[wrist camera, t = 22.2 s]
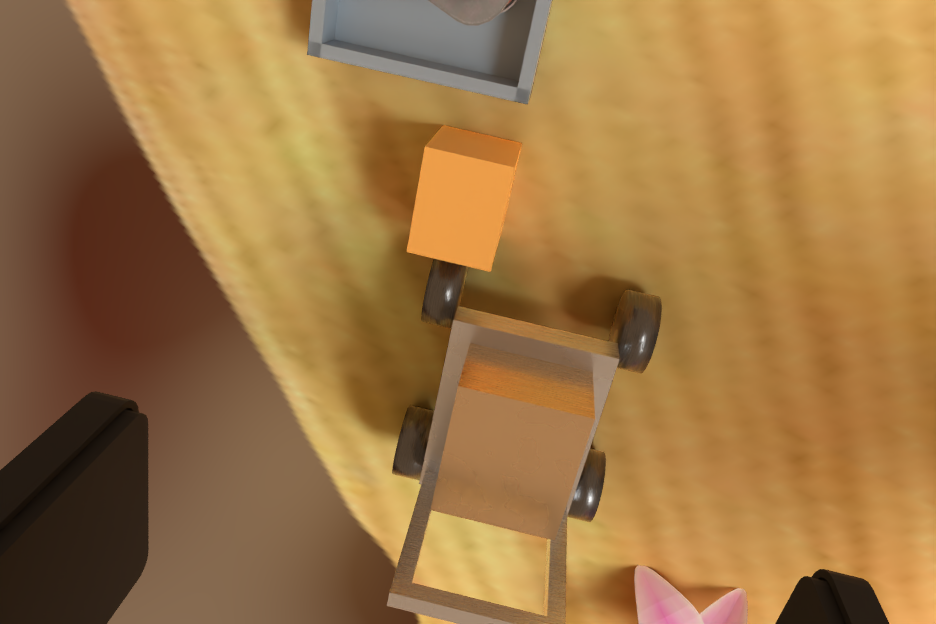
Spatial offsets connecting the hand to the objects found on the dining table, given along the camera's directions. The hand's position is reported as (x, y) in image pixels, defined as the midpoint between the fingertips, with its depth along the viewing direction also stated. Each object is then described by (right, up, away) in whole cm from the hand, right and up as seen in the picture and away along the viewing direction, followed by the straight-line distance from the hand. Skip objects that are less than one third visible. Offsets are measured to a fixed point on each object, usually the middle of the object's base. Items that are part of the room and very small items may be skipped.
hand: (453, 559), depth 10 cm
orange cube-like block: (0, +10, +27) cm, 29 cm away
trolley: (+3, 0, +31) cm, 31 cm away
